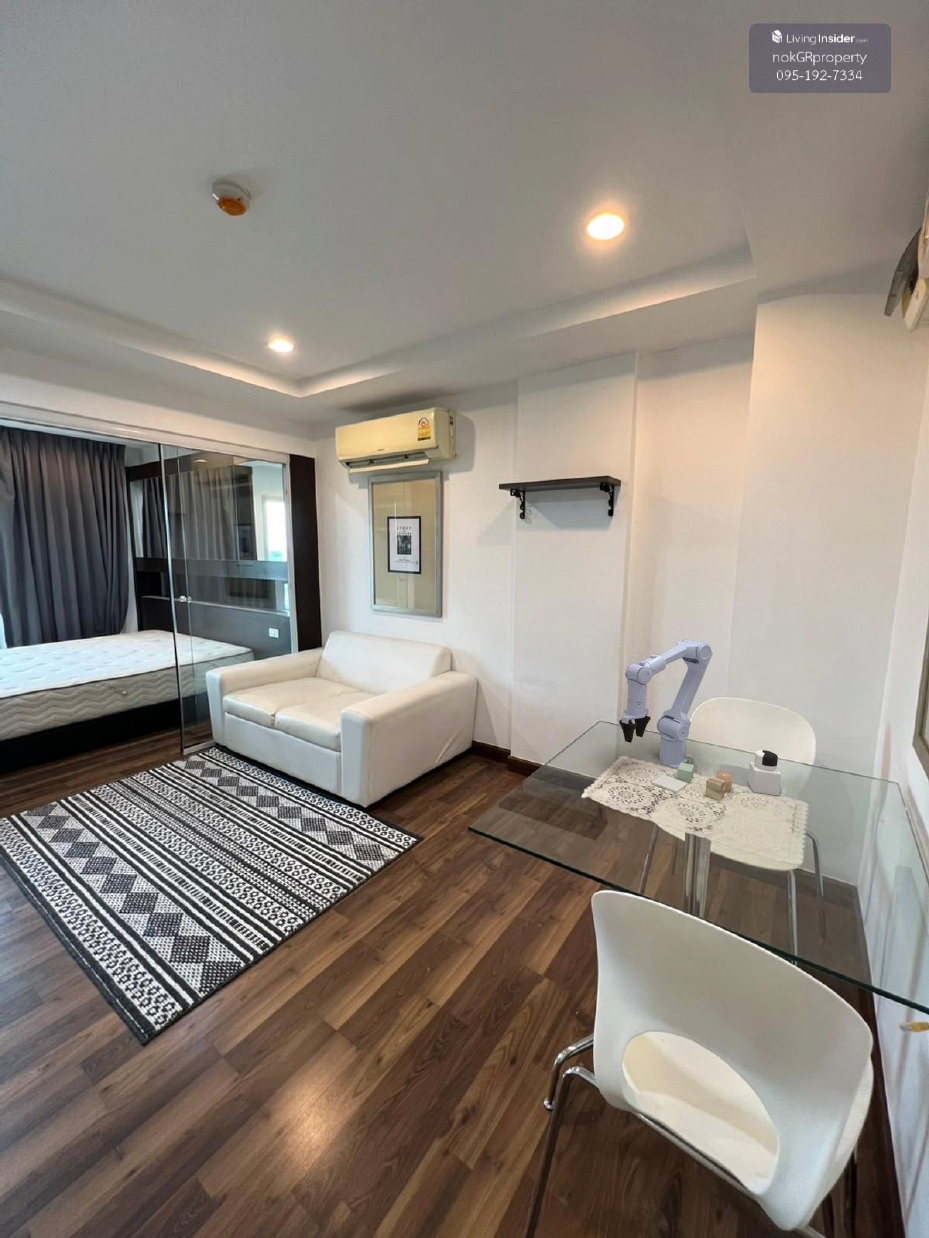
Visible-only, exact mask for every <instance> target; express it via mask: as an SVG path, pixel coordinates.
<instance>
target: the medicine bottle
mask: <svg viewBox="0 0 929 1238" xmlns="http://www.w3.org/2000/svg"><path fill="white" fill-rule="evenodd" d="M778 760H779V756H778V755H777V754H776V753H774V752H772V751H771V750H765V749H759V750H756V751H754V760H753V761H750V762H749V768H748V779H747V783H748V786H749V787H750V789H751V790H752V792H753V793H758V794H764V795H765V794H766V795H772V796H778V797H779V796H780V793H781V792H780V789H781V782H782V781H781V780H782V773H781V772H780V770H779V768H778Z"/></svg>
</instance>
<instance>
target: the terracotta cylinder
mask: <svg viewBox="0 0 929 1238" xmlns="http://www.w3.org/2000/svg"><path fill="white" fill-rule="evenodd" d="M733 776H734V775H733V774H732V772H728V771H725V770H717V771H716V777H715V778H718V779H721V780H724V781H726V782H725V793H731V792H732V789H733V788H732V787H733V779H734V777H733Z"/></svg>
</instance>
